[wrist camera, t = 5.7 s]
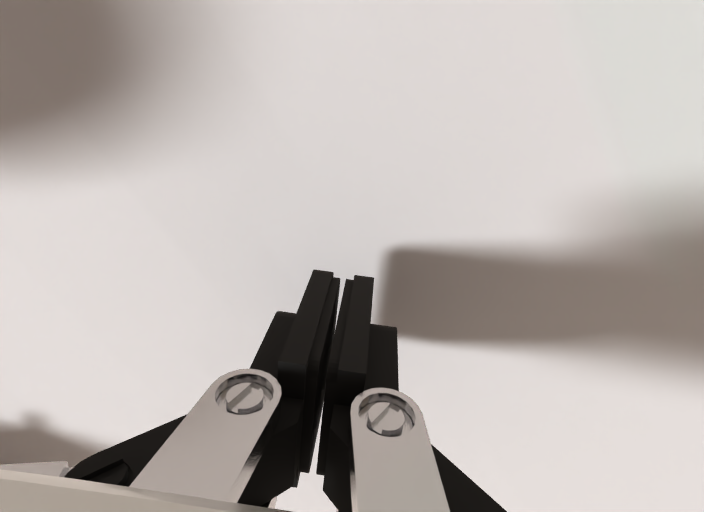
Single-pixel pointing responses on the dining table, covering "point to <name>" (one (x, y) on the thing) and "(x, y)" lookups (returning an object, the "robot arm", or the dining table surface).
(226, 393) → the robot arm
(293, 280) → the dining table surface
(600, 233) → the dining table surface
